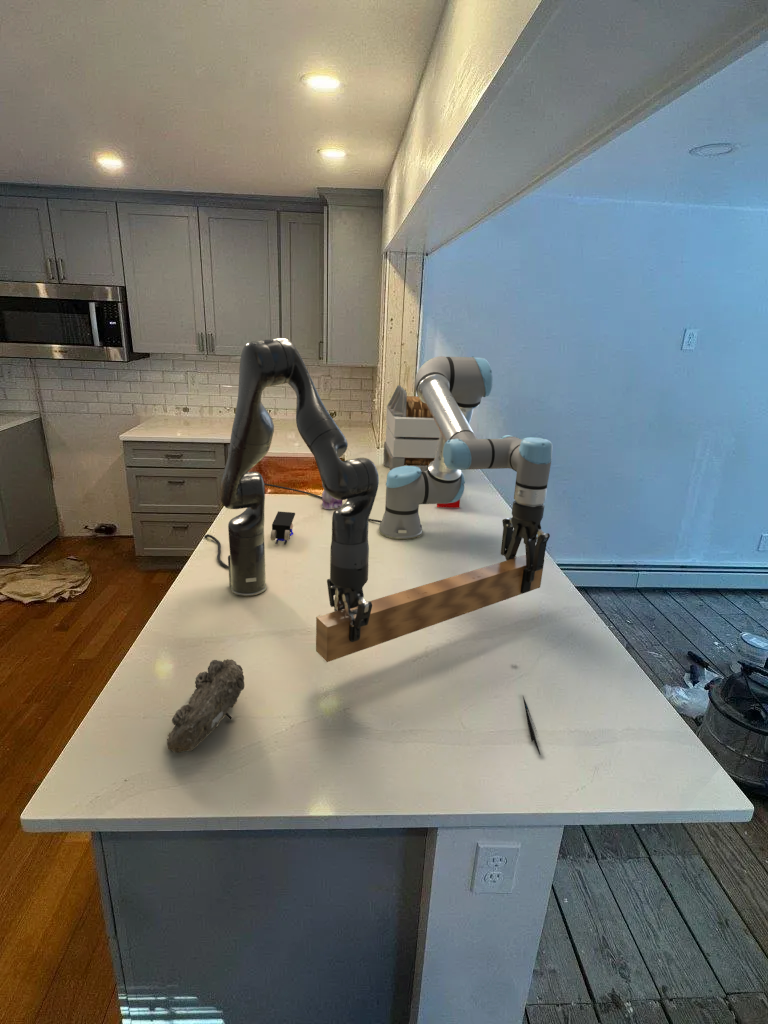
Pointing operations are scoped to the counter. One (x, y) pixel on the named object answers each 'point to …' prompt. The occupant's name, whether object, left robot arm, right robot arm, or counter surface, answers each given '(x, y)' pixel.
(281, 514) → the black wheeled block
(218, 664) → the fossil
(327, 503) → the figurine
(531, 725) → the feather
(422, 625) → the bar
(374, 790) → the counter surface
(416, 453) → the grey crate
